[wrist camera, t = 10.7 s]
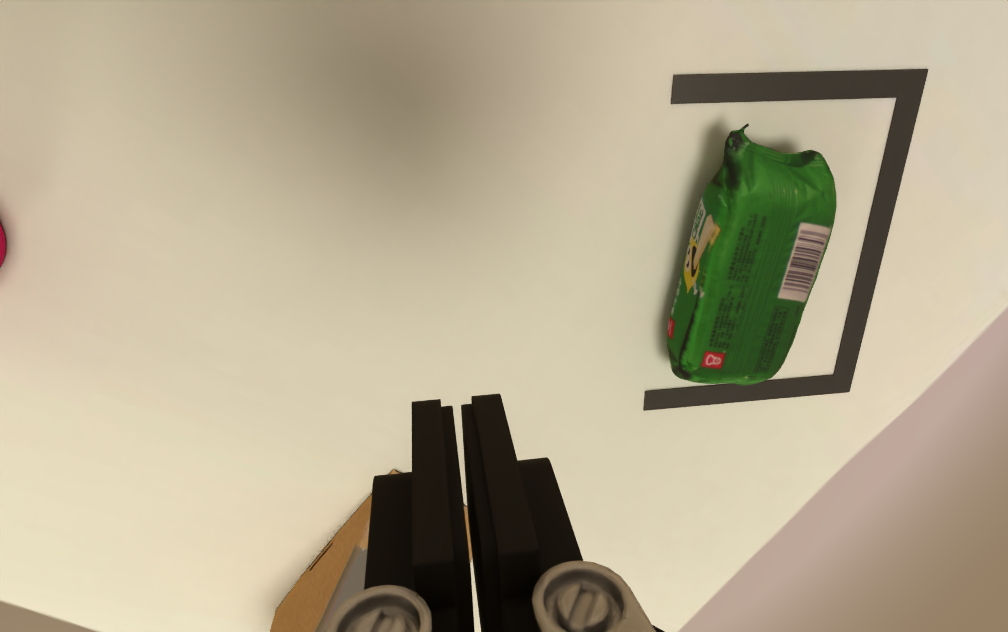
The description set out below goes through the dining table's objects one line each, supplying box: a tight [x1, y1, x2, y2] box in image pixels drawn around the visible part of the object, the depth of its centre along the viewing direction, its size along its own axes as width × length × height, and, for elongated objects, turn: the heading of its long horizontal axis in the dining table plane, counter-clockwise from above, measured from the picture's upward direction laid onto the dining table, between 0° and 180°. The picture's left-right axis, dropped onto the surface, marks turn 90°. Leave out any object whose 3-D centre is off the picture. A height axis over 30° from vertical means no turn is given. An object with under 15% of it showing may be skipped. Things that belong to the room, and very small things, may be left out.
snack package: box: [667, 124, 836, 386], centre depth 36 cm, size 7×16×5 cm, turn 172°
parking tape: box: [644, 69, 928, 411], centre depth 39 cm, size 22×15×1 cm
